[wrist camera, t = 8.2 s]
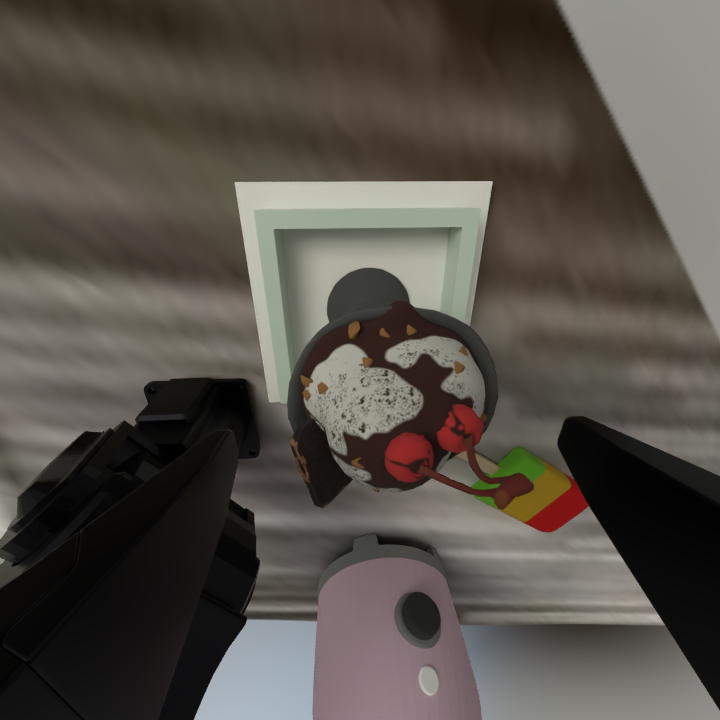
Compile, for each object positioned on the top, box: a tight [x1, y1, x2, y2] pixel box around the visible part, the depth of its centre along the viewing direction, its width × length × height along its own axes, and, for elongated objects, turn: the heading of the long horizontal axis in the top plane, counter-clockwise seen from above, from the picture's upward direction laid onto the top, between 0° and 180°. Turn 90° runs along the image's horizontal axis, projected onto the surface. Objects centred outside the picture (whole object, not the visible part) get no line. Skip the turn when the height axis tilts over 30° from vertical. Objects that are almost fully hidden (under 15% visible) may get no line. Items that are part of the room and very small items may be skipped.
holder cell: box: [235, 181, 493, 404], centre depth 19 cm, size 13×13×2 cm
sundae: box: [287, 268, 534, 510], centre depth 13 cm, size 7×7×15 cm
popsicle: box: [456, 447, 589, 532], centre depth 27 cm, size 6×15×2 cm, turn 55°
